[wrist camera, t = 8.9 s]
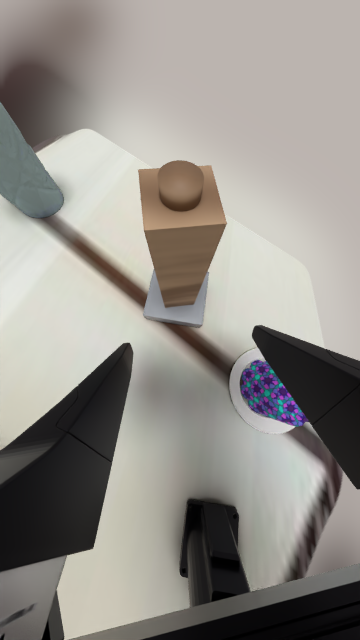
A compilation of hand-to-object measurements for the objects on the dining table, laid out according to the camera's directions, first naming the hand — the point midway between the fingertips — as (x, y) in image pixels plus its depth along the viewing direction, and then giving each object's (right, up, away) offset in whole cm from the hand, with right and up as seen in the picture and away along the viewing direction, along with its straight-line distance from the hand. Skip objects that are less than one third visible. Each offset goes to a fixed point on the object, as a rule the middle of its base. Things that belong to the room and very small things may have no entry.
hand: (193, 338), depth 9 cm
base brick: (-1, +5, +13) cm, 14 cm away
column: (-1, +6, +11) cm, 12 cm away
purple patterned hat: (+12, -9, +11) cm, 19 cm away
